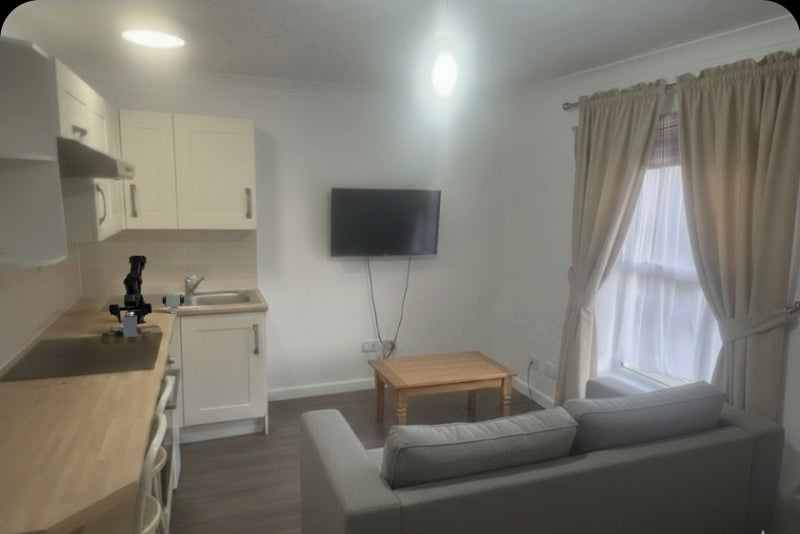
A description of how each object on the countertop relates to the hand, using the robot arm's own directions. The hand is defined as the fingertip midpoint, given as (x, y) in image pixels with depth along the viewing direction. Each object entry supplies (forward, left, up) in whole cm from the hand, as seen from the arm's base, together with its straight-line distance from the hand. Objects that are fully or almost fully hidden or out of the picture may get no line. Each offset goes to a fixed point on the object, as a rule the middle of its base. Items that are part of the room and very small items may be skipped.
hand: (129, 323), depth 250 cm
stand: (-2, +12, -7) cm, 14 cm away
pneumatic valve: (-27, +48, -7) cm, 55 cm away
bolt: (-13, +2, -7) cm, 15 cm away
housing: (-1, +1, -7) cm, 7 cm away
